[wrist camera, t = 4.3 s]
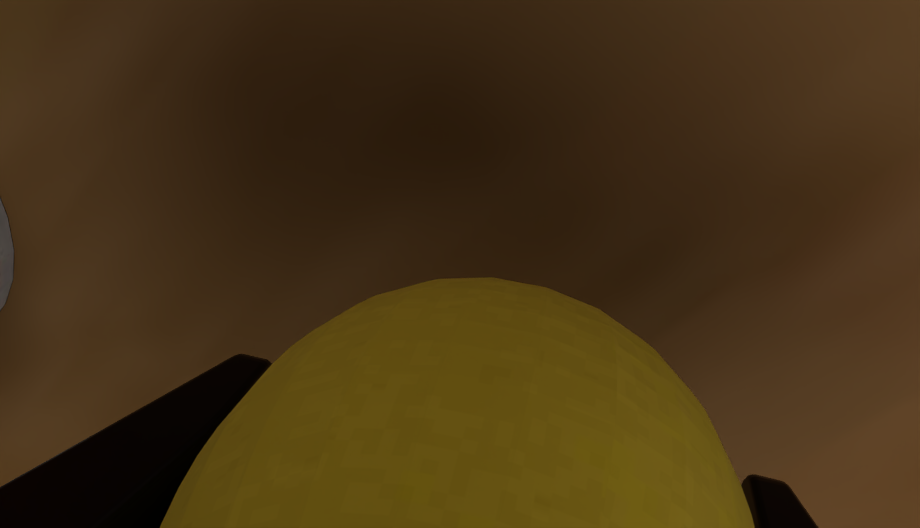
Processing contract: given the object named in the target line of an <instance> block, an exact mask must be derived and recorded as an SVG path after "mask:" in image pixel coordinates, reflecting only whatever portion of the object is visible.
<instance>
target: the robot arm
mask: <svg viewBox="0 0 920 528" xmlns="http://www.w3.org/2000/svg"><path fill="white" fill-rule="evenodd" d="M271 365H272V363H271V362H270V361H268V360H266V359H262V358H258V357H254V356H250V355H245V354H238V355H235V356H233V357H231V358H229V359H227V360H226V361H224V362H222V363H220V364H218V365H217V366H215V367H213V368H211V369H210V370H208V371H206V372H204V373H202V374H201V375H199V376H197V377H195V378H194V379H192V380H190V381H188V382H186V383H185V384H183V385H181V386H179V387H178V388H176V389H174V390H172V391H170V392H169V393H167V394H165V395H163V396H162V397H160V398H158V399H156V400H154V401H153V402H151V403H149V404H147V405H146V406H144V407H142V408H140V409H138V410H137V411H135V412H133V413H131V414H130V415H128V416H126V417H124V418H122V419H121V420H119V421H117V422H115V423H113V424H112V425H110V426H108V427H106V428H105V429H103V430H101V431H99V432H97V433H96V434H94V435H92V436H90V437H89V438H87V439H85V440H83V441H81V442H80V443H78V444H76V445H74V446H73V447H71V448H69V449H67V450H65V451H64V452H62V453H60V454H58V455H57V456H55V457H53V458H51V459H49V460H48V461H46V462H44V463H42V464H41V465H39V466H37V467H35V468H33V469H32V470H30V471H28V472H26V473H25V474H23V475H21V476H19V477H17V478H16V479H14V480H12V481H10V482H9V483H7V484H5V485H3V486H1V487H0V528H160V526H161V523H162V521H163V519H164V517H165V515H166V513H167V511H168V509H169V507H170V505H171V503H172V500H173V498H174V496H175V494H176V492H177V490H178V488H179V486H180V484H181V483H182V481H183V479H184V478H185V476H186V474H187V472H188V471H189V469H190V467H191V466H192V464H193V462H194V460H195V459H196V457H197V455H198V454H199V453H200V451H201V450H202V448H203V447H204V445H205V444H206V443H207V441H208V440H209V438H210V437H211V436H212V434H213V433H214V431H215V430H216V429H217V427H218V426H219V425H220V424H221V423H222V421H223V420H224V419H225V418H226V417H227V416H228V414H229V413H230V412H231V411H232V410H233V409H234V407H235V406H236V405H237V404H238V403H239V402H240V400H241V399H242V398H243V397H244V396H245V395H246V393H247V392H248V391H249V390H250V389H251V388H252V387H253V385H254V384H255V383H256V382H257V381H258V380H259V378H260V377H261V376H262V375H263V374H264V373H265V372H266V370H267V369H268V368H269V367H270V366H271ZM741 486H742V489H743V492H744V495H745V498H746V500H747V503H748V506H749V509H750V512H751V515H752V519H753V523H754V526H755V528H818V526H817V525H816V524H815V522H814V521H813V519H812V518H811V516H810V515H809V514H808V512H807V511H806V509H805V508H804V507H803V505H802V504H801V502H800V501H799V499H798V498H797V497H796V495H795V494H794V492H793V491H792V489H791V488H790V487H789V486H788V485H787V484H786V483H785V482H783V481H780V480H776V479H771V478H767V477H763V476H759V475H749V476H747V477H746V478H745V479H744V481H743V483H742V485H741Z"/></svg>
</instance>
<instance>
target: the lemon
mask: <svg viewBox="0 0 920 528" xmlns="http://www.w3.org/2000/svg"><path fill="white" fill-rule="evenodd" d="M160 528H755V526H754V523H753V519H752V515H751V512H750V509H749V506H748V503H747V500H746V498H745V495H744V492H743V489H742V486H741V484H740V482H739V480H738V477H737V475H736V473H735V471H734V469H733V467H732V465H731V462H730V460H729V458H728V456H727V454H726V452H725V450H724V448H723V445H722V443H721V441H720V439H719V437H718V435H717V433H716V431H715V429H714V427H713V425H712V423H711V421H710V419H709V417H708V415H707V413H706V411H705V409H704V408H703V406H702V405H701V404H700V402H699V401H698V400H697V398H696V397H695V396H694V394H693V393H692V392H691V390H690V389H689V388H688V387H687V386H686V385H685V383H684V382H683V381H682V380H681V379H680V378H679V377H678V375H677V374H676V373H675V372H674V371H673V370H672V369H671V368H670V366H669V365H668V364H667V363H666V362H665V361H664V360H663V358H662V357H661V356H660V355H659V354H658V353H657V352H656V350H655V349H653V348H652V347H651V346H650V345H649V344H647V343H646V342H645V341H644V340H642V339H641V338H640V337H638V336H637V335H635V334H634V333H633V332H631V331H630V330H628V329H627V328H625V327H624V326H623V325H621V324H620V323H618V322H617V321H615V320H614V319H613V318H611V317H610V316H608V315H607V314H605V313H604V312H603V311H601V310H600V309H598V308H596V307H593V306H591V305H588V304H586V303H584V302H581V301H579V300H576V299H574V298H571V297H569V296H566V295H564V294H562V293H559V292H557V291H554V290H552V289H549V288H547V287H542V286H536V285H531V284H525V283H520V282H515V281H509V280H504V279H498V278H493V277H487V278H450V279H436V280H431V281H426V282H423V283H419V284H415V285H412V286H408V287H404V288H401V289H397V290H393V291H390V292H386V293H383V294H379V295H375V296H373V297H371V298H369V299H367V300H365V301H363V302H361V303H359V304H357V305H355V306H353V307H351V308H350V309H348V310H346V311H345V312H343V313H341V314H340V315H338V316H336V317H335V318H333V319H331V320H330V321H328V322H326V323H325V324H323V325H321V326H319V327H318V328H316V329H314V330H313V331H311V332H310V333H308V334H307V335H306V336H304V337H303V338H302V339H300V340H299V341H298V342H296V343H295V344H294V345H292V346H291V347H290V348H289V349H288V350H287V351H286V352H284V353H283V354H282V355H281V356H280V357H279V358H278V359H277V360H276V361H275V362H274V363H273V364H272V365H271V366H270V367H269V368H268V369H267V370H266V372H265V373H264V374H263V375H262V376H261V377H260V378H259V380H258V381H257V382H256V383H255V384H254V385H253V387H252V388H251V389H250V390H249V391H248V392H247V393H246V395H245V396H244V397H243V398H242V399H241V400H240V402H239V403H238V404H237V405H236V406H235V407H234V409H233V410H232V411H231V412H230V413H229V414H228V416H227V417H226V418H225V419H224V420H223V421H222V423H221V424H220V425H219V426H218V427H217V429H216V430H215V431H214V433H213V434H212V436H211V437H210V438H209V440H208V441H207V443H206V444H205V445H204V447H203V448H202V450H201V451H200V453H199V454H198V455H197V457H196V459H195V460H194V462H193V464H192V466H191V467H190V469H189V471H188V472H187V474H186V476H185V478H184V479H183V481H182V483H181V484H180V486H179V488H178V490H177V492H176V494H175V496H174V498H173V500H172V503H171V505H170V507H169V509H168V511H167V513H166V515H165V517H164V519H163V521H162V523H161V526H160Z"/></svg>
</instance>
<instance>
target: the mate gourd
mask: <svg viewBox="0 0 920 528" xmlns="http://www.w3.org/2000/svg"><path fill="white" fill-rule="evenodd" d="M13 263H14V248H13V243H12V238H11V233H10V227H9V222H8V217H7V215H6V212H5V209H4V207H3V204H2V202H1V199H0V310H1V309H2V307H3V306H4V305H5V303H6V300H7V297H8V294H9V290H10V287H11V284H12V281H13Z"/></svg>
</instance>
